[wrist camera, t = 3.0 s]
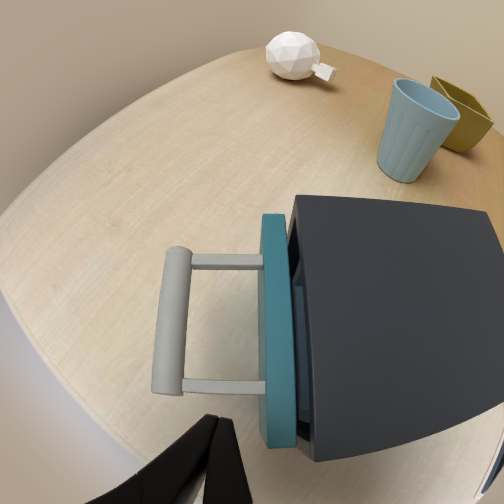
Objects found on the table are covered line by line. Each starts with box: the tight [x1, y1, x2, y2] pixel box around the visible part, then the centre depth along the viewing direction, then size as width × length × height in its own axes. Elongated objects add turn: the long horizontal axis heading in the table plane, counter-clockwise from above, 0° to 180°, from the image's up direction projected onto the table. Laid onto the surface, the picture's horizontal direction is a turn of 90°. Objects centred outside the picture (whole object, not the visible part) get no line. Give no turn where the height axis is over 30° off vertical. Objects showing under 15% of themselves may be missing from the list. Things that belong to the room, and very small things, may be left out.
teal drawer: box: [151, 214, 310, 449], centre depth 15 cm, size 18×11×8 cm, turn 90°
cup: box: [377, 78, 460, 183], centre depth 25 cm, size 8×8×10 cm
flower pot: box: [430, 75, 494, 153], centre depth 30 cm, size 9×9×9 cm
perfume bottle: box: [266, 31, 337, 81], centre depth 37 cm, size 9×9×12 cm
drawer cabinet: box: [287, 195, 504, 462], centre depth 15 cm, size 15×13×9 cm
